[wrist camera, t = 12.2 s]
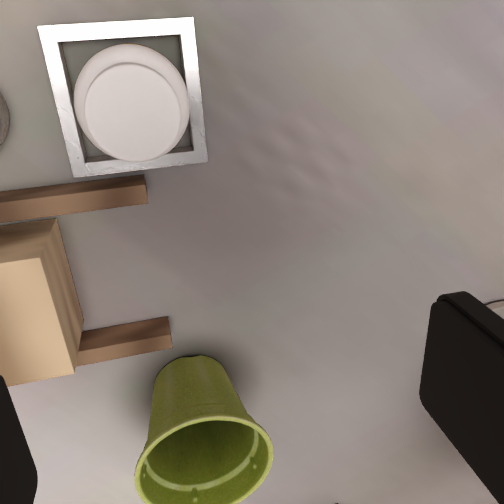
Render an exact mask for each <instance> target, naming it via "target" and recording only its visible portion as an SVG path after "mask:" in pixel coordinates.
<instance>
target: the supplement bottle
mask: <svg viewBox="0 0 504 504" xmlns="http://www.w3.org/2000/svg"><path fill="white" fill-rule="evenodd" d="M74 108H75V113H76V117H77V120H78V122H79V124H80V126H81V128H82V130H83V132H84V133H85V135H86V136H87V138H88V139H89V140H90V141H91V142H92V143H93V144H94V145H95V146H96V147H97V148H98V149H100V150H101V151H103V152H104V153H106V154H107V155H109V156H111V157H114V158H116V159H119V160H123V161H127V162H147V161H151V160H154V159H157V158H159V157H161V156H163V155H165V154H166V153H168V152H169V151H170V150H172V149H173V148H174V147H175V146H176V145H177V143H178V142H179V141H180V139H181V138H182V136H183V134H184V132H185V130H186V128H187V125H188V121H189V115H190V100H189V95H188V91H187V88H186V85H185V83H184V80H183V78H182V77H181V75H180V73H179V72H178V70H177V69H176V68H175V66H174V65H173V64H172V63H171V62H170V61H169V60H168V59H167V58H165V57H164V56H163V55H161V54H160V53H158V52H157V51H155V50H153V49H151V48H148V47H146V46H143V45H139V44H131V43H126V44H119V45H114V46H111V47H108V48H105V49H103V50H101V51H99V52H98V53H96V54H95V55H94V56H93V57H92V58H90V59H89V60H88V62H87V63H86V64H85V65H84V67H83V68H82V70H81V72H80V74H79V76H78V78H77V81H76V85H75V89H74Z"/></svg>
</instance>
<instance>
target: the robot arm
mask: <svg viewBox="0 0 504 504" xmlns="http://www.w3.org/2000/svg"><path fill="white" fill-rule="evenodd" d="M419 395H420V399H421V402H422V405H423V406H424V408H425V409H426V410H427V412H428V413H429V414H430V416H431V417H432V418H433V419H434V421H435V422H436V423H437V425H438V426H439V427H440V428H441V430H442V431H443V432H444V434H445V435H446V436H447V437H448V439H449V440H450V441H451V443H452V444H453V445H454V446H455V448H456V449H457V450H458V452H459V453H460V454H461V455H462V457H463V458H464V459H465V460H466V462H467V463H468V464H469V466H470V467H471V468H472V469H473V471H474V472H475V473H476V475H477V476H478V477H479V478H480V480H481V481H482V482H483V484H484V485H485V486H486V487H487V489H488V490H489V491H490V493H491V494H492V495H493V496H494V498H495V499H496V500H497V502H498V503H499V504H504V301H500V302H495V303H491V304H489V305H484V304H483V303H482V302H480V301H479V300H478V299H476V298H475V297H474V296H472V295H471V294H470V293H468V292H465V291H462V292H455V293H449V294H443V295H441V296H439V297H438V299H437V301H436V302H435V303H433V304H432V306H431V311H430V318H429V325H428V333H427V340H426V347H425V354H424V361H423V368H422V375H421V383H420V390H419ZM37 481H38V480H37V470H36V467H35V464H34V461H33V458H32V456H31V453H30V450H29V447H28V444H27V442H26V439H25V436H24V433H23V430H22V428H21V425H20V422H19V419H18V416H17V413H16V411H15V408H14V405H13V402H12V399H11V397H10V394H9V391H8V388H7V385H6V383H5V380H4V378H3V377H2V375H0V504H33V502H34V498H35V494H36V489H37Z"/></svg>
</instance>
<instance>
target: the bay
mask: <svg viewBox="0 0 504 504" xmlns="http://www.w3.org/2000/svg"><path fill="white" fill-rule="evenodd" d="M147 203H148V197H147V189H146V183H145V177H144V174H143V175H135V176H126V177H118V178H110V179H101V180H93V181H85V182H76V183H68V184H60V185H52V186H43V187H35V188H27V189H18V190H10V191H2V192H0V223H3V222H11V221H18V220H26V219H34V218H41V217H49V216H56V215H64V214H71V213H79V212H86V211H94V210H102V209H109V208H117V207H124V206H132V205H139V204H147ZM83 321H84V319H83V316H82V312H81V308H80V305H79V301H78V297H77V293H76V290H75V286H74V282H73V279H72V275H71V271H70V267H69V264H68V260H67V256H66V253H65V249H64V245H63V241H62V238H61V234H60V230H59V227H58V223H57V219H56V218H55V219H48V220H40V221H33V222H25V223H18V224H10V225H3V226H0V375H2V377H3V378H4V380H5V383H6V385H7V387H9V386H14V385H19V384H24V383H29V382H34V381H39V380H44V379H49V378H54V377H59V376H64V375H69V374H74V373H75V367H76V366H82V365H87V364H92V363H97V362H102V361H107V360H112V359H118V358H123V357H128V356H133V355H138V354H143V353H148V352H154V351H159V350H164V349H169V348H173V347H172V340H171V332H170V326H169V320H168V316H167V317H162V318H156V319H151V320H145V321H140V322H134V323H128V324H123V325H117V326H112V327H106V328H101V329H95V330H90V331H84V332H82V327H83Z"/></svg>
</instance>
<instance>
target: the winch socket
mask: <svg viewBox="0 0 504 504" xmlns="http://www.w3.org/2000/svg"><path fill="white" fill-rule="evenodd" d="M37 27H38V31H39V36H40V40H41V44H42V48H43V52H44V56H45V61H46V65H47V69H48V73H49V77H50V81H51V85H52V90H53V94H54V98H55V102H56V106H57V110H58V115H59V119H60V123H61V127H62V131H63V135H64V140H65V144H66V148H67V152H68V156H69V160H70V164H71V169H72V173H73V177H74V178H77V177H86V176H94V175H103V174H111V173H120V172H128V171H137V170H145V169H154V168H162V167H171V166H179V165H187V164H196V163H204V162H208V157H207V147H206V137H205V127H204V118H203V108H202V98H201V88H200V79H199V69H198V59H197V49H196V40H195V30H194V20H193V17H187V18H169V19H151V20H134V21H116V22H98V23H80V24H63V25H45V26H37ZM175 34H178V37H179V45H180V54H181V62H182V71H183V79H184V83H185V85H186V88H187V91H188V95H189V100H190V115H189V121H188V122H189V130H190V139H191V146H187V147H178V148H173V149H172V150H170V151H169V152H168V153H166V154H165V155H163V156H161V157H159V158H157V159H154V160H151V161H147V162H127V161H123V160H119V159H116V158H114V157H111V156H109V155H106V156H97V157H87V156H86V152H85V147H84V143H83V138H82V134H81V129H80V125H79V122H78V120H77V117H76V113H75V108H74V98H73V93H72V89H71V84H70V80H69V75H68V71H67V66H66V62H65V57H64V53H63V49H62V44H61V42H64V41H80V40H96V39H112V38H128V37H144V36H159V35H175ZM9 124H10V117H9V111H8V107H7V104H6V102H5V100H4V98H3V96H2V95H1V93H0V144H1V143H2V142H3V141H4V139H5V137H6V136H7V133H8V130H9Z"/></svg>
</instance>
